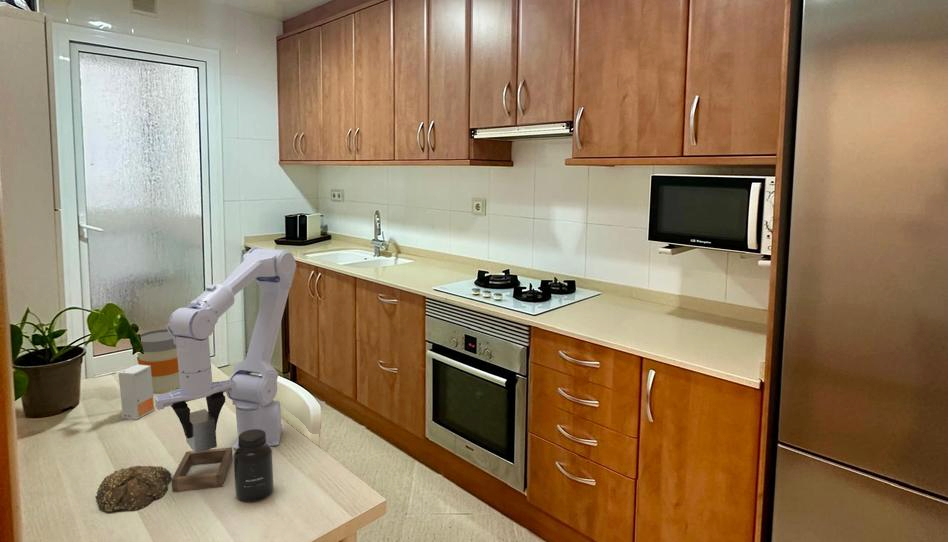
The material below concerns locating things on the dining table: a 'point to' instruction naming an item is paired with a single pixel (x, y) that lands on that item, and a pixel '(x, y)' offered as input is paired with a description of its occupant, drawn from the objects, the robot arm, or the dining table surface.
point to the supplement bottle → (253, 466)
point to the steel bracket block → (202, 431)
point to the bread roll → (132, 488)
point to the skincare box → (136, 391)
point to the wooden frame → (202, 480)
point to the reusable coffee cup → (160, 359)
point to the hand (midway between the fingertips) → (200, 432)
